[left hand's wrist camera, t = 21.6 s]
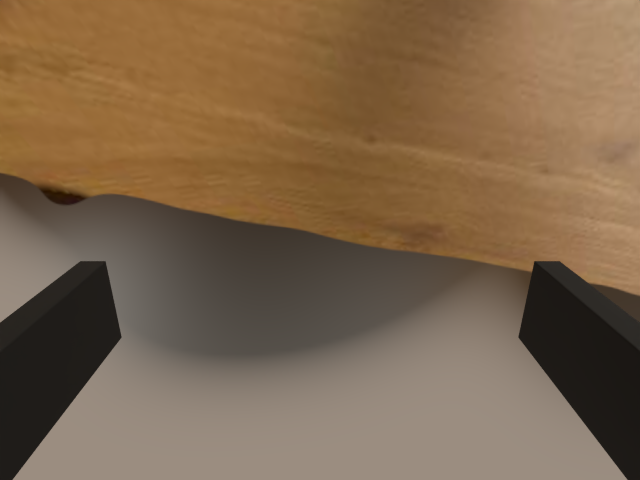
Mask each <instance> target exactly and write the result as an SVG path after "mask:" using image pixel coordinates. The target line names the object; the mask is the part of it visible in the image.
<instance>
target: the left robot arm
mask: <svg viewBox="0 0 640 480" xmlns="http://www.w3.org/2000/svg"><path fill="white" fill-rule="evenodd" d="M120 339H121V333H120V328H119V323H118V318H117V314H116V309H115V304H114V299H113V295H112V290H111V285H110V280H109V276H108V271H107V266H106V262H105V261H80V262H79V263H78V264H76V265H75V266H74V267H72V268H71V269H70V270H68V271H67V272H66V273H65V274H63V275H62V276H61V277H59V278H58V279H57V280H55V281H54V282H53V283H51V284H50V285H49V286H48V287H46V288H45V289H44V290H42V291H41V292H40V293H38V294H37V295H36V296H34V297H33V298H32V299H31V300H29V301H28V302H27V303H25V304H24V305H23V306H21V307H20V308H19V309H17V310H16V311H15V312H14V313H12V314H11V315H10V316H8V317H7V318H6V319H4V320H3V321H2V322H0V480H13V478H14V477H15V476H16V474H17V473H18V472H19V470H20V469H21V468H22V467H23V465H24V464H25V463H26V461H27V460H28V459H29V457H30V456H31V455H32V453H33V452H34V451H35V450H36V448H37V447H38V446H39V444H40V443H41V442H42V440H43V439H44V438H45V437H46V435H47V434H48V433H49V431H50V430H51V429H52V427H53V426H54V425H55V423H56V422H57V421H58V420H59V418H60V417H61V416H62V414H63V413H64V412H65V410H66V409H67V408H68V407H69V405H70V404H71V403H72V401H73V400H74V399H75V397H76V396H77V395H78V393H79V392H80V391H81V390H82V388H83V387H84V386H85V384H86V383H87V382H88V380H89V379H90V378H91V376H92V375H93V374H94V373H95V371H96V370H97V369H98V367H99V366H100V365H101V363H102V362H103V361H104V359H105V358H106V357H107V356H108V354H109V353H110V352H111V350H112V349H113V348H114V346H115V345H116V344H117V343H118V341H119V340H120ZM519 339H520V340H521V341H522V343H523V344H524V345H525V346H526V348H527V349H528V350H529V352H530V353H531V354H532V356H533V357H534V358H535V360H536V361H537V362H538V363H539V365H540V366H541V367H542V369H543V370H544V371H545V373H546V374H547V375H548V376H549V378H550V379H551V380H552V382H553V383H554V384H555V386H556V387H557V388H558V389H559V391H560V392H561V393H562V395H563V396H564V397H565V399H566V400H567V401H568V403H569V404H570V405H571V407H572V408H573V409H574V410H575V412H576V413H577V414H578V416H579V417H580V418H581V419H582V421H583V422H584V423H585V425H586V426H587V427H588V429H589V430H590V431H591V433H592V434H593V435H594V436H595V438H596V439H597V440H598V442H599V443H600V444H601V446H602V447H603V448H604V450H605V451H606V452H607V453H608V455H609V456H610V457H611V459H612V460H613V461H614V463H615V464H616V465H617V466H618V468H619V469H620V470H621V472H622V473H623V474H624V476H625V477H626V478H627V480H640V322H638V321H637V320H636V319H634V318H633V317H632V316H630V315H629V314H628V313H626V312H625V311H624V310H623V309H621V308H620V307H619V306H617V305H616V304H615V303H613V302H612V301H611V300H609V299H608V298H607V297H605V296H604V295H603V294H602V293H600V292H599V291H598V290H596V289H595V288H594V287H592V286H591V285H590V284H589V283H587V282H586V281H585V280H583V279H582V278H581V277H579V276H578V275H577V274H575V273H574V272H573V271H572V270H570V269H569V268H568V267H566V266H565V265H564V264H562V263H561V262H560V261H534V266H533V271H532V276H531V280H530V285H529V290H528V295H527V299H526V304H525V309H524V314H523V318H522V323H521V328H520V333H519Z"/></svg>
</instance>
